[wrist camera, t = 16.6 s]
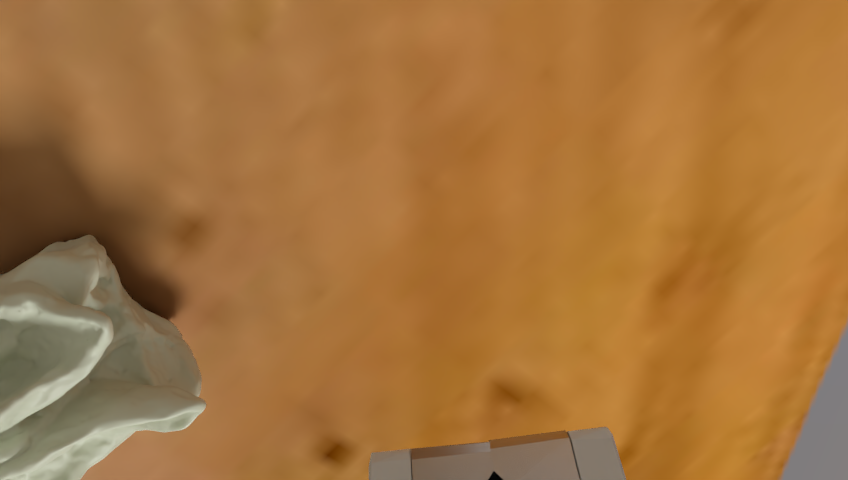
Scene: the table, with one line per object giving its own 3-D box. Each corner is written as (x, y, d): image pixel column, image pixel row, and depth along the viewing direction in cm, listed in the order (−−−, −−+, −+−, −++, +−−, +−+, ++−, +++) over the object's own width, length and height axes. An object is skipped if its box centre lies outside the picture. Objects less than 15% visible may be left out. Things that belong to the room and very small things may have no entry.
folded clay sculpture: (121, 177, 48) (141, 248, 35) (197, 353, 53) (241, 477, 40) (-206, 291, 43) (-334, 427, 29) (-88, 474, 48) (-150, 664, 34)
